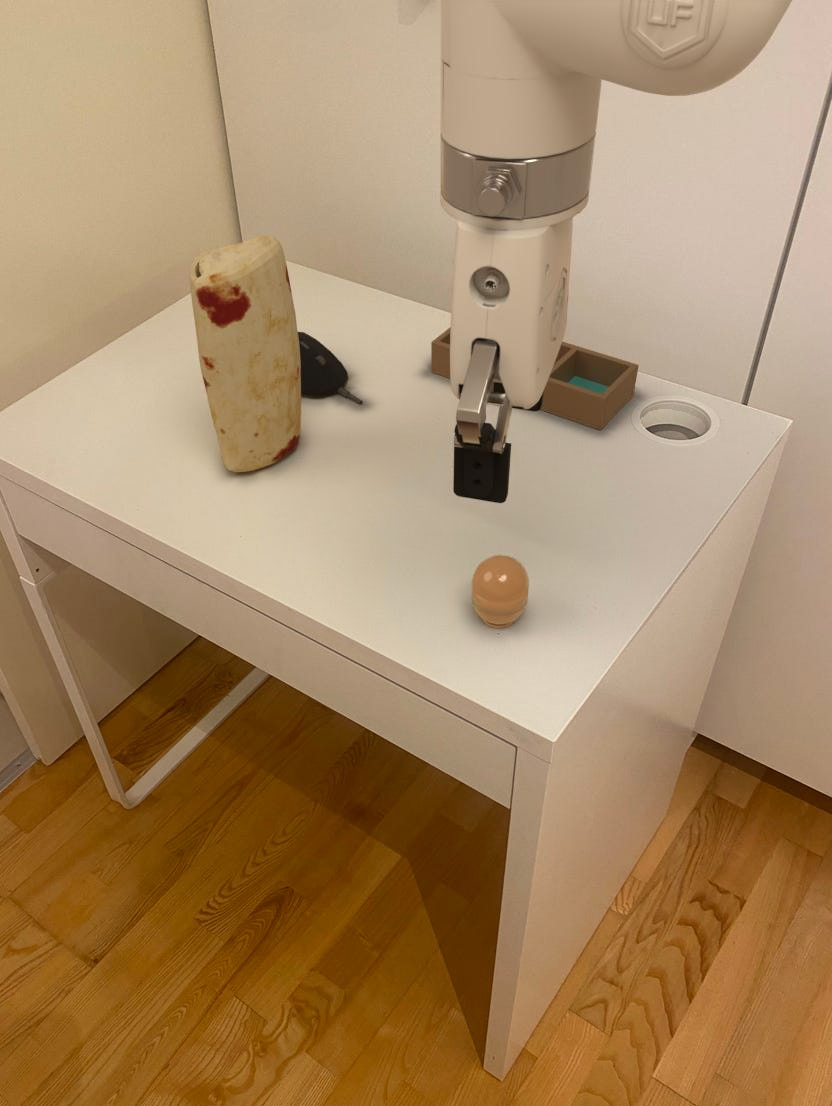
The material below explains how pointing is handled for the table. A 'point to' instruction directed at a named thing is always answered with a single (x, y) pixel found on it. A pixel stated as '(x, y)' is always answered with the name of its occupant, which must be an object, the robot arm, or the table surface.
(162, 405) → the table surface
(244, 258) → the food model
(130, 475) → the table surface
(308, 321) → the table surface
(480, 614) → the egg
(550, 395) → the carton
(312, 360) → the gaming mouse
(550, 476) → the table surface
